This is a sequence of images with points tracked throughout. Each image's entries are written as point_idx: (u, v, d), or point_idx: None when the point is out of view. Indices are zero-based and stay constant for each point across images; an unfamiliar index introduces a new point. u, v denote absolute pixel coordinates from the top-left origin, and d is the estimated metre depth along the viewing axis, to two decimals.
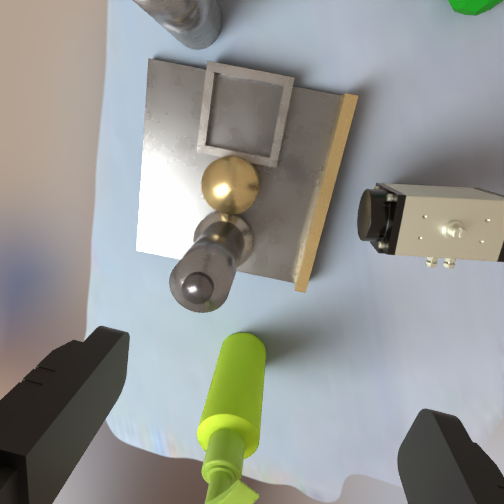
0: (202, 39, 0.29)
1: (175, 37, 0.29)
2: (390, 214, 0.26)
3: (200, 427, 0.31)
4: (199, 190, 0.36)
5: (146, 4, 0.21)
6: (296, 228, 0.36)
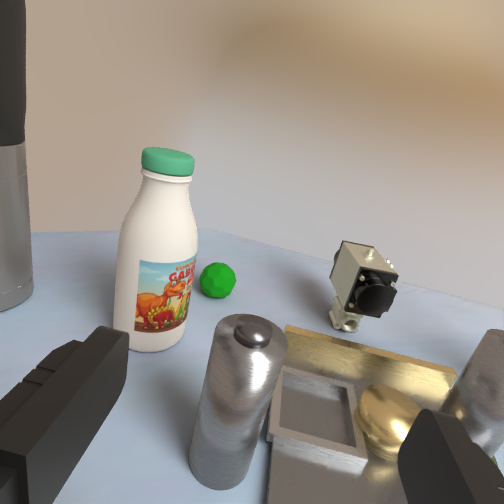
0: None
1: (253, 452, 0.24)
2: (372, 277, 0.39)
3: None
4: None
5: (287, 346, 0.21)
6: (397, 381, 0.37)
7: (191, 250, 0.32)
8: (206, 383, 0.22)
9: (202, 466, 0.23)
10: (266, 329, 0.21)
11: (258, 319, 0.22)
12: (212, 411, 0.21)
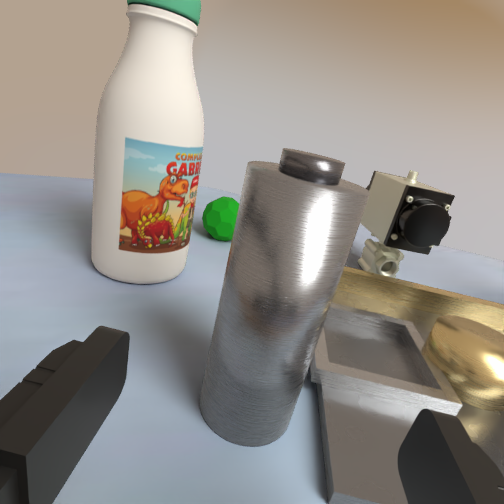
0: None
1: (301, 385, 0.15)
2: (422, 198, 0.31)
3: None
4: None
5: None
6: None
7: (196, 135, 0.23)
8: (232, 260, 0.13)
9: (223, 407, 0.15)
10: (334, 160, 0.13)
11: (316, 154, 0.13)
12: (245, 302, 0.13)
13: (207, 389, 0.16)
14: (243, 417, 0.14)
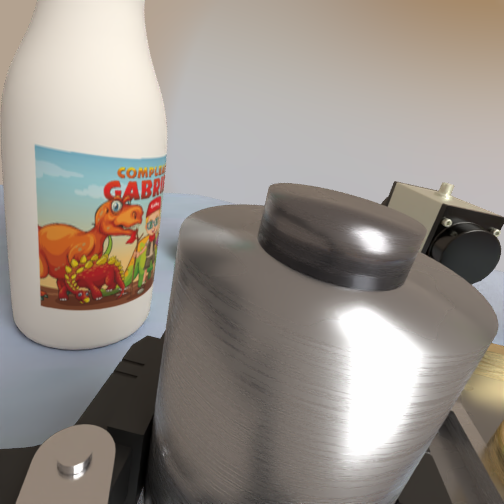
0: None
1: None
2: (463, 221, 0.24)
3: None
4: None
5: None
6: None
7: (152, 141, 0.16)
8: (154, 440, 0.06)
9: None
10: (396, 218, 0.05)
11: (346, 196, 0.06)
12: None
13: None
14: None
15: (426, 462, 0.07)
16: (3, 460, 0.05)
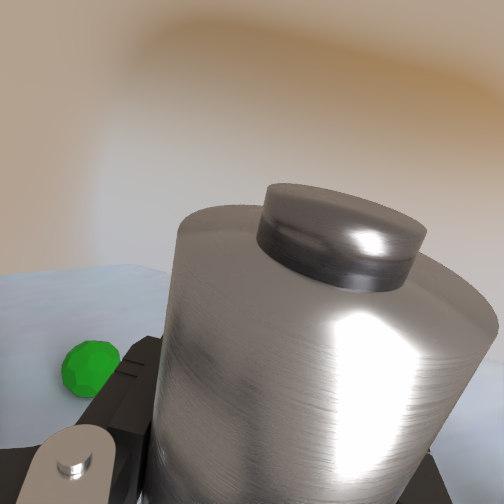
0: None
1: None
2: None
3: None
4: None
5: None
6: None
7: None
8: (152, 441, 0.06)
9: None
10: (396, 218, 0.05)
11: (346, 196, 0.06)
12: None
13: None
14: None
15: (426, 462, 0.07)
16: (2, 461, 0.05)
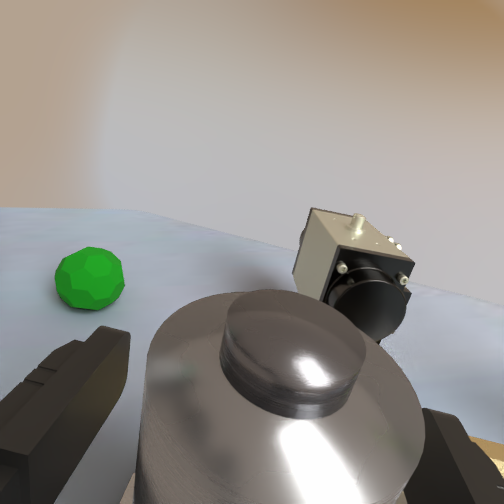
0: None
1: None
2: (363, 266, 0.20)
3: None
4: None
5: (411, 394, 0.06)
6: None
7: None
8: None
9: None
10: (342, 337, 0.06)
11: (303, 303, 0.06)
12: None
13: None
14: None
15: None
16: None
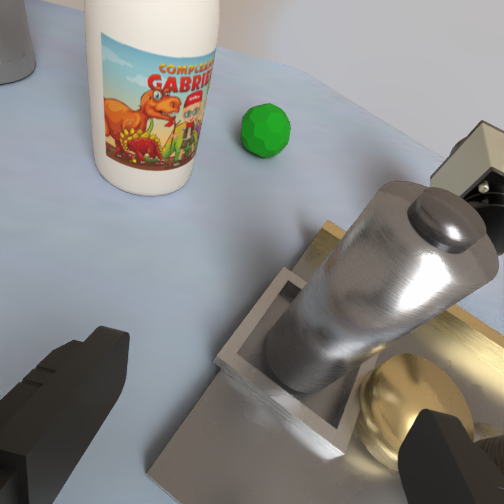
0: None
1: None
2: None
3: None
4: (403, 495, 0.17)
5: None
6: (458, 356, 0.24)
7: (193, 42, 0.18)
8: (327, 270, 0.14)
9: (281, 358, 0.18)
10: (475, 225, 0.11)
11: (460, 202, 0.12)
12: (324, 310, 0.14)
13: (274, 338, 0.19)
14: (294, 373, 0.18)
15: None
16: None
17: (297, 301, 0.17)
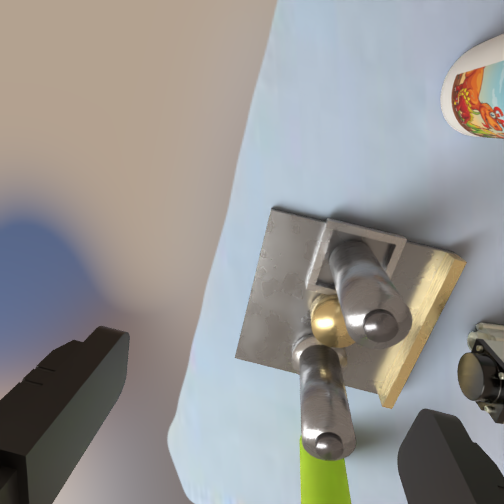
0: None
1: None
2: (501, 390, 0.29)
3: None
4: (301, 315, 0.39)
5: (368, 347, 0.26)
6: (387, 351, 0.40)
7: None
8: (363, 273, 0.28)
9: (337, 253, 0.34)
10: (377, 337, 0.25)
11: (391, 333, 0.24)
12: (347, 274, 0.29)
13: (348, 247, 0.34)
14: (332, 261, 0.35)
15: None
16: None
17: (360, 258, 0.31)
